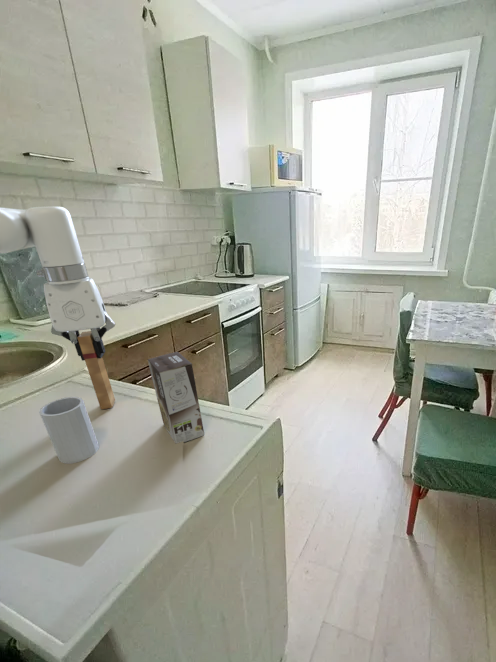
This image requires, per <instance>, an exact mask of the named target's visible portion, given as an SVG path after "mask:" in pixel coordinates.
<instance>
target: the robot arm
mask: <svg viewBox="0 0 496 662" xmlns="http://www.w3.org/2000/svg"><path fill="white" fill-rule="evenodd" d="M79 242H80V241H79V239H78V236H77V232H76V229H75V226H74V222H73V219H72V216H71V213H70V212H69V210H68V209H67V208H65V207H63V206H59V205H58V206H57V205H54V206H53V205H50V206H45V205H44V206H34V207H33V206H32V207H29V208H26V209H21V208H20V209H19V208H11V207H10V208H9V207H0V254H8V253H12V252H17V251H21V250H25V249H29V248H35V250H36V253H37V256H38V258H39V260H40V264H41V267H40V269H37V270H36V271H35V273H36V275H37V277H38V278H44V280H45V281H47V282H45V283H42V285H43V293H44V299H45V305H46V308H47V311H48V316H49V319H50V323H51V330H50V333H51V334H52V335H55V336H60V337H62V338H64V339H66V340H68V341H70V343H71V344H73V345H74V348H75V350H76V353H77V356H78V357H80V359H81V361H85V359H84V357H83V353H82V350H81V347H80V344H79V341H78V338H77V337H78V336H79V335H80V334H81V333H80V331H83V330H84V331H85V330H90V331H91V332H92V335H93V337H94V342H93V346H94V349H95V352H96V354H97V358H103V356H104V355H105V353H106V348H105V345H104V341H103V337H104V335H105V334H106V332H108V331H110V330H113V328H115V326H116V322H115V321H114V320H113V319H112V318H111V316H110V315H109V314H108V312H107V309H106V307H105V303H104V300H103V298H102V295H101V293H100V290H99V289H98V286H97V285H96V283H95V280H94V279H93V278H92V277H89V273H88V270H87V267H86V263H85V260H84V257H83V253H82V250H81V246H80V243H79Z"/></svg>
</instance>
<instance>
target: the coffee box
mask: <svg viewBox="0 0 496 662" xmlns="http://www.w3.org/2000/svg"><path fill="white" fill-rule="evenodd" d="M147 363H148V367H149V371H150V375H151V380H152V383H153V387H154V391H155V395H156V400H157V404H158V407H159V411H160V412H159V413H160V416H161V420H162V423H163V427H164V429H166V431H167V433H168V434H169V436H170V438H171V439H172V441H173V442H174V444H179V443H181V442H183V443H187V442H189V441H192V440H195V439H197V438H200V437H204V436H205V429H204V424H203V418H202V413H201V408H200V401H199V396H198V390H197V385H196V380H195V379H196V378H195V374H194V373H195V372H194V367H193V363H192V362H190V361H189V360H188V359H187V358H186V357H185V356H184V355H182V354H181V353H180V352H179V351H174V352H170V353H166V354H162V355H159V356H155V357H151V358H148V359H147Z"/></svg>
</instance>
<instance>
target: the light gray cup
mask: <svg viewBox="0 0 496 662" xmlns="http://www.w3.org/2000/svg"><path fill="white" fill-rule="evenodd" d="M38 413H39V415H40V418H41V420H42V423H43V425H44V428H45V430H46V432H47V434H48V437H49V440H50V442H51V445H52V447H53V449H54V452H55V454H56V456H57V459H58V461H59V462H60V463H63V464H67V465H68V464H76V463H80V462H82V461H85V460H87V459H89V458H91V457H93V456H94V455H95V454H96V453H97V452H98V451H99V448H100V445H99V442H98V438H97V436H96V433H95V429H94V427H93V423H92V422H91V419H90V415H89V413H88V410H87V407H86V405H85V400H84V399H83V398H82V397H78V396H67V397H62V398H57V399H54V400H52V401H50V402H48V403H46V404H44V405H43V406H41V408H40V409H39V411H38Z"/></svg>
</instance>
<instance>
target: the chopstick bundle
mask: <svg viewBox="0 0 496 662" xmlns="http://www.w3.org/2000/svg"><path fill="white" fill-rule="evenodd" d="M77 338H78V341H79V344H80V347H81V350H82V353H83V357H84V359H85V360H84V363H85V365H86V368H87V371H88V375H89V377H90V380H91V383H92V386H93V389H94V392H95V396H96V399H97V401H98V405H99V408H100V410H108V409H112V408H113V406H114V404H115V402H116V398H115V394H114V391H113V388H112V384H111V381H110V378H109V375H108V371H107V368H106V365H105V361H104V358H103V357H102V358H97V354H96V352H95V349H94V346H93V342H94V337H93V335H92V332H91V330H88V331H82V332H81V333H80V335H79V336H78V337H77Z"/></svg>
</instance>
